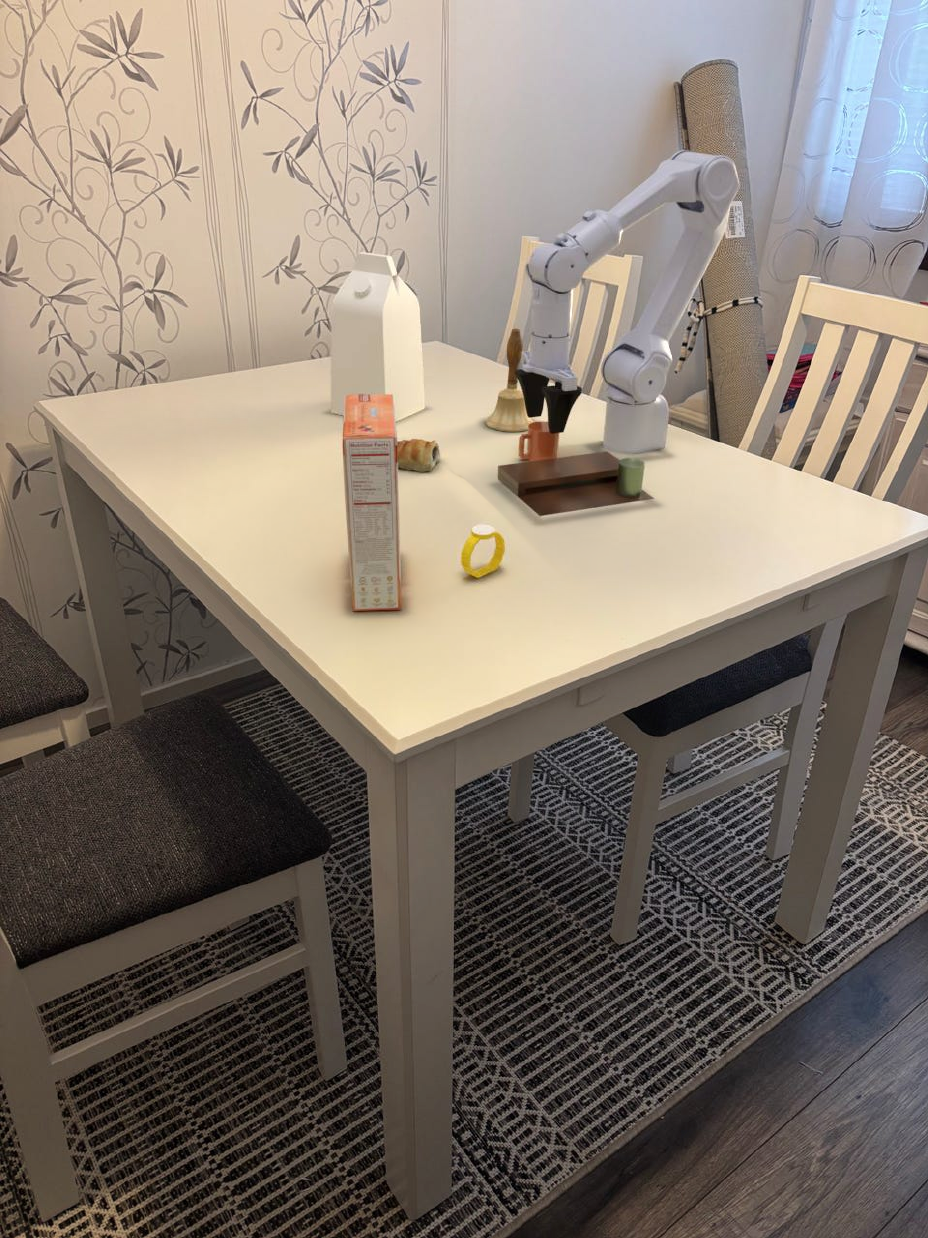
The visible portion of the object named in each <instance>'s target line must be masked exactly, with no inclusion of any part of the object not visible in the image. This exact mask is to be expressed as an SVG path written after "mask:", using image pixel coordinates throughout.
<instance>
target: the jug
mask: <svg viewBox="0 0 928 1238" xmlns="http://www.w3.org/2000/svg"><path fill="white" fill-rule="evenodd" d="M560 434H561V433H555V434H551V433H550V432H549V427H548V421H533V423H531V424H529V425H528V430H527V433H521V435H520V436H519V438H518V439H519V440H518V457H519V458H520V459H521V460H527V461H528V462H531V461H538V460H546V459H553V458H559V447H560ZM526 440H527V441H526ZM525 441H526V442H527V443H526V453H525Z"/></svg>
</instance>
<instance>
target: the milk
mask: <svg viewBox="0 0 928 1238" xmlns="http://www.w3.org/2000/svg"><path fill="white" fill-rule="evenodd" d="M395 265H396V264H395V262H394V260H393V256H392V255H388V254H387V255H386V254H380V253H373V252H365V251H361V252H357V254H356V257H355V260H354V264H353V267H352V270H351V271H350V273H349V274H348V276H347V277H346V279H345V280H344V282H343V283H342V285H341V287H340V288H339V289H338V291H337V292H336V294H335V296H334V297H333V300H332V303H331V309H330V413H331V414H336V415H339V416H342V417H344V403H345V395H353V394H367V395H381V394H393V399H394V409H395V419H396V423H397V422H399V421H400V420H403V419H405V418H407V417H410V416H412V415H414V414H416V413H418V412H421V411H423V410H425V409H426V401H425V400H426V399H425V381H424V380H425V379H424V363H423V362H424V361H423V345H422V342H423V341H422V328H421V327H422V324H421V307H420V302H419V299H418V297H417V295H416V294H415V293H414V292H413V290H412V289H411V288H410V287H409V286H408V285H407V284H406V282H405V281H404V280H403V279H402V278H401V277H400V276H399V275H398V272H397V268H396V266H395Z"/></svg>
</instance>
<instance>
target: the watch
mask: <svg viewBox="0 0 928 1238" xmlns="http://www.w3.org/2000/svg"><path fill="white" fill-rule="evenodd" d="M470 531H471V533H470V534H471V535H470V536H469V537H468V539H467V540H466V541H465V542H464V545H463V547H462V550H461V554H460V555H461V556H460V563H461V566H462V569H463V571H464V572H465V573H466V574H469V575H471V576H473V577H475V578H476V579H479V578H482V577H484V576H486V575H488V574H490V573H492V572H494V571H496V570H497V569H498V568H499V566H500V564H501V563H502V560H503V558H504V554H505V552H506V551H505V550H506V546H505V539H504V537H503V536H502V534H501V533H500V532H498V531H496V529H495V527H494V526H493V525H489V524H477V525H474V526H472V528H471V529H470ZM492 538H494V542H495V548H494V552H493V556H492V557H491V558H490V560H489V562H488V563H487V564H486V565H484V566H482V567H480V568H478V569H475V570H473V568H472V566H471V560H472V559H471V556H472V554H473V551H474V549H475V546H476V545H477V544H479V542H480V540H481V541H482V540H483V541H484V540H490V539H492Z"/></svg>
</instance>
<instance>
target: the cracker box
mask: <svg viewBox="0 0 928 1238" xmlns="http://www.w3.org/2000/svg"><path fill="white" fill-rule="evenodd" d="M397 441H398V431H397V422H396V419H395V409H394V399H393V394H381V395H367V394H353V395H345V403H344V416H343V423H342V460H343V461H342V464H343V480H344V481H343V486H344V501H345V518H346V519H345V520H346V534H347V549H348V564H349V578H350V591H351V592H350V593H351V604H352V611H353V612H363V611H364V612H365V611H369V612H370V611H391V610H392V611H395V610H396V611H397V610H402V609H403V608H402V607H403V605H402V565H401V562H402V561H401V559H402V558H401V528H400V525H401V524H400V523H401V522H400V489H399V488H400V487H399V468H398V448H397Z"/></svg>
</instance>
